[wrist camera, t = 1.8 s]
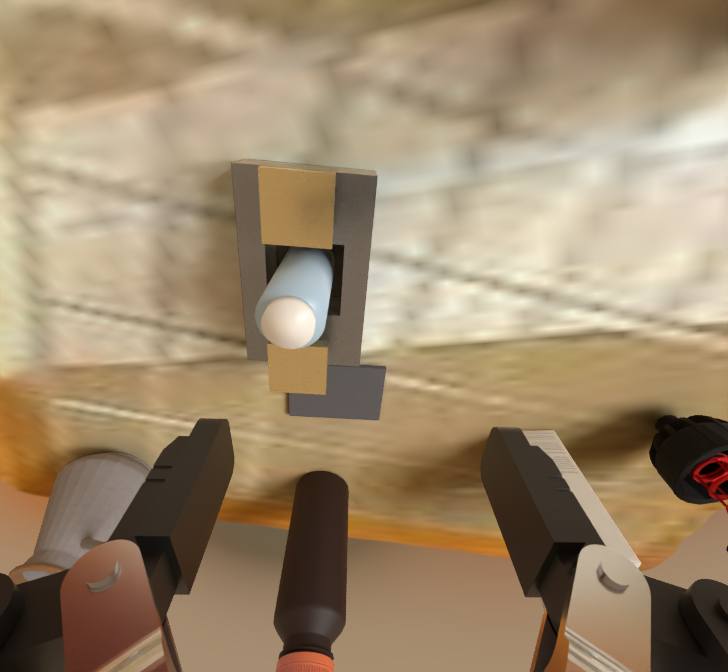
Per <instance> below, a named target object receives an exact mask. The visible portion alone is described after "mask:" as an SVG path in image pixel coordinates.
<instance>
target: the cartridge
mask: <svg viewBox="0 0 728 672" xmlns="http://www.w3.org/2000/svg"><path fill="white" fill-rule="evenodd" d="M334 268H335V261H334V257H333V254H332V252H331V251H330V249H321V248H309V247H296V246H291V247H290V248H289V250H288V251H287V253H286V255H285V256H284V258H283V260H282V262H281V263H280V265H279V267H278V268H277V270H276V272H275V274H274V275H273V277H272V279H271V281H270V282H269V284H268V286H267V287H266V289H265V291H264V293H263V294H262V296H261V298H260V299H259V301H258V303H257V306H256V309H255V320H256V324H257V327H258V329H259V330H260V332H261V333H262V335H263V336H264V337H265V338H266V339H267V340H269V341H270V342H271V343H272V344H274V345H276V346H278V347H280V348H284V349H300V348H304V347H307V346H309V345H311V344H313V343H314V342H316V341H317V340H318V339H319V338H320V336H321V335H322V333H323V331H324V328H325V324H326V318H327V312H328V306H329V299H330V293H331V287H332V281H333V275H334Z"/></svg>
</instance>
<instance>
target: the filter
mask: <svg viewBox="0 0 728 672" xmlns="http://www.w3.org/2000/svg"><path fill="white" fill-rule="evenodd" d="M655 428H656V429H657V430H658V431H659V433H656V435H655V436H654V437H653V441H652V445H651V448H650V451H649V455H650V459H651V462H652V464H653V466H654V467H655V468H656V469H657V471H658V473H659V474H660V476H661V477H662V478H663V479H664V481H665V482H666V483H667V484H668V485H669V487H670V488H671V489H672V490H673V492H674V494H675V495H676V496H677V497H678V498H679V499H681V500H683V501H685V502H687V503H693V504H707V503H715V502H719V501H720V502H721V503H722V504H723V505H724V506H725V507H726V510H727V512H728V506H727V505H726V504H725V503H724V502H723V500H727V499H728V422H727V421H724V420H720V419H716V418H712V417H709V416H703V415H694V416H690V417H688V418H685V417H684V418H679V419H678V418H677V417H675V416H672V415H670V416H664V417H663V418H661V419H659V420H658V421H657V423H656V425H655ZM727 551H728V546H727Z"/></svg>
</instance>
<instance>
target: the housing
mask: <svg viewBox="0 0 728 672" xmlns="http://www.w3.org/2000/svg"><path fill="white" fill-rule="evenodd" d="M259 166H271V167H281V168H292V169H303V170H314V171H325V172H336V182H335V205H334V228H333V244H337V245H344V261H343V278H342V294H341V297H334V296H330V299H329V306H328V312H327V318H326V324H325V328H324V331H323V333H322V335H321V336H320V338H319V339H318V340H321V341H328V364H327V365H341V366H357V367H359V364H360V353H361V343H362V332H363V322H364V311H365V301H366V291H367V280H368V270H369V259H370V249H371V239H372V228H373V218H374V207H375V197H376V186H377V174H376V172H375V171H371V170H361V169H350V168H339V167H329V166H318V165H307V164H296V163H286V162H275V161H264V160H253V159H244V160H240V161H235V162H231V168H232V179H233V191H234V203H235V215H236V226H237V238H238V250H239V262H240V273H241V285H242V297H243V309H244V320H245V332H246V344H247V356H248V360H259V361H268V351H267V343H268V341H269V340H267V339H266V338H265V337H264V336H263V335H262V333H261V332H260V330H259V329H258V327H257V324H256V320H255V309H256V306H257V303H258V301H259V299H260V298H261V296H262V294H263V293H264V291H265V289H266V287H267V286H268V284H269V282H270V281H271V279H272V277H273V275H274V274H275V272H276V245H271V244H262V237H261V218H260V199H259V180H258V167H259Z"/></svg>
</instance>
